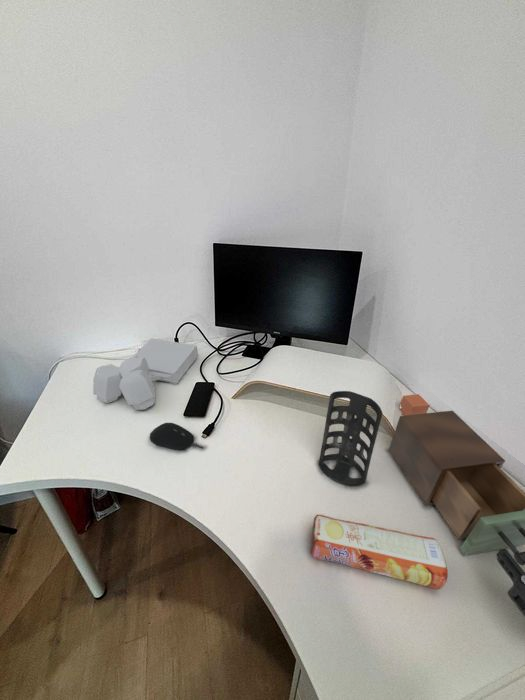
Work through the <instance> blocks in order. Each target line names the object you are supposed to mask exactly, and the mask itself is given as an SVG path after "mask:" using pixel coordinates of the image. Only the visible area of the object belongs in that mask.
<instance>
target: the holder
mask: <svg viewBox="0 0 525 700" xmlns="http://www.w3.org/2000/svg"><path fill="white" fill-rule="evenodd" d="M336 399H349V403H348V405H334V403H335V400H336ZM368 407H370V408H371V409H372V410H373V411H374V412H375V414H376V419H374V418H373V417H372V416H371V415H370V414H369V413H368V412H367V408H368ZM326 412H327V413H326V417H325V423H324V424H325V425H324V429H323V430H324V431H323V435H322V436H323V437H322V442H321V449H320V454H319V458H318V467H319V469H320V470H321V471H322V473H324V474H325V476H327V477H328V478H329V479H331V480H332V481H334V482H337V483H339V484H342V485H344V486H345V485H346V486H350V487H358V486H363V485H365V484H366V481H367V478H368V473H369V468H370V464H371V460H372V455H373V451H374V448H375V444H376V439H377V437H378V433H379V429H380V425H381V421H382V417H383V415H384V413H383V410H382V409H381V406H380V405H379V404H378V403H377V401H376V400H374V399H372V398H371V397H368V396H365V395H363V394H359V393H357V392H354V391H350V390H338V391H333V392H331V393H330V394H329V400H328V407H327V411H326ZM335 412H336V413H337V418H332V416H333V413H335ZM344 413H346V418H345V417H344ZM355 416H356V418H355ZM365 420H366V423H365V425H364V424H363V423H364V421H365ZM333 425H343V426H344V427H343V430H333V431H330V427H331V426H333ZM371 427H372V430H373V431H372V433H371V430H370V429H371ZM361 433H363V434H364V435H365V436H366V437H367V439H368V440H369V445H368V444H367V443H366V441H364V440H363V438H361V436H360V435H361ZM339 437H341V441H340V442H338V440H339ZM329 438H332V439H333V440H332V442H331V443H328V439H329ZM358 445H359V446H360V447H359V449H358ZM330 449H338V453H330V454H325V453H326V451H327V450H330ZM364 452H365V453H366V457H365V455H364ZM355 456H356V457H357V458H359V460H360V461H361V462H362V464H363V466H364V467H363V468H362V466H361V465H360V464H359V463H358V462H357V461H356V460H355ZM328 461H337V462H336V464H335V466H334V468H333V469H331V468H330V467H329V466H327V464H326V463H325V462H328ZM351 467H353V468H354V469H355V470H356V471H357V472H358V473H359V475H360V477H351V476H350V472H351Z"/></svg>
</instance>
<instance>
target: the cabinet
mask: <svg viewBox="0 0 525 700" xmlns="http://www.w3.org/2000/svg"><path fill="white" fill-rule="evenodd" d="M389 445H390V446H389V448H388V453H390V455H391V457H392V458H393V460H394V461H395V463H396V464H397V466H398V467H399V469H400V470H401V472H402V473H403V475H404V476H405V477H406V479H407V481H408V483H409V484H410V486H411V487H412V489H413V490H414V491H415V493H416V495H417V496H418V498H419V499H420V500H421V502H422V504H423V505H424V506H427V507H428V506H433V505H435V504H434V503H433V501H432V500H431V499H432V497H433V495H434V493H435V491H436V489H437V487H438V485H439V483H440V481H441V479H442V476H443V474H444V472H445V471H451V470H459V469H466V468H473V467H480V466H488V465H495V464H496V465H497V466H499V467H500V468H501V469H502V467H503V465H504V464H505V462H506V459H505V458H503V457H502V455H500V454H499V453H498V452H497V451H496V450H495V449H494V448H493V447H492V446H491V445H490V444H488V443H487V442H486V441H485V440H484V439H483V437H481V435H479V434H478V433H477V432H476V431H475V430H474V429H473V428H472V427H471V426H469V424H467V423H466V421H464V420H463V419H462V418H461V417H460V416H459V415H458V414H457V413H456V412H455V411H454V410H444V411H436V412H427V413H425V414H415V415H406V416H404V415H400V416H399V418H398V421H397V424H396V428H395V430H394V433H393V436H392V439H391V442H390V444H389Z"/></svg>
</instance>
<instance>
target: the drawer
mask: <svg viewBox="0 0 525 700" xmlns="http://www.w3.org/2000/svg"><path fill="white" fill-rule="evenodd" d="M431 500H432V501H433V503H434V504H433V505H434V506H435V508H436V510H438V511H439V513H440V514H441V516H442V517H443V519H444V521H445V522H446V523H447V525H448V526H449V528H450V529H451V531H452V532H453V534H454V535H455V536H456V538H457V539H458V540H462V539H465V540H464V541H463V543H462V545H461V546H460V548H459V549H460V551H461V553H462V554H463V555H464V556H470V555H475V554H480V553H486V552H492V551H496V550H497V551H499V550H500V549H510V551H511V552H512V553H513V558H514V559H515V561H516V562H517V563H518V564H519V566H525V551H519V550H518V548H516V547H519V546H525V491H524V490H523V489H522V488H521V487H520V486H519V485H518V484H517V483H516V482H515V481H514V480H513V479H512V478H511V477H510V476H509V475H508V474H507V473H506V472H504V470H503V469H502V467H501V468H500V467H499V466H497V465H496V464H495V465H488V466H480V467H473V468H466V469H459V470H451V471H445V472H444V474H443V476H442V479H441V481H440V483H439V485H438V487H437V489H436V491H435V493H434V495H433V497H432V499H431Z"/></svg>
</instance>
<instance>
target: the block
mask: <svg viewBox="0 0 525 700" xmlns="http://www.w3.org/2000/svg"><path fill="white" fill-rule="evenodd" d="M400 404H401V407H402V408H401V411H400V412H401V413H402V414H403V416H406V415H415V414H425V413H428V410H429V407H430V404H429V403H428V402H427V401H426V400H425V399H424V397H422V396H421V395H420V393H417V394H405V395H402V397H401V401H400Z"/></svg>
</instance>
